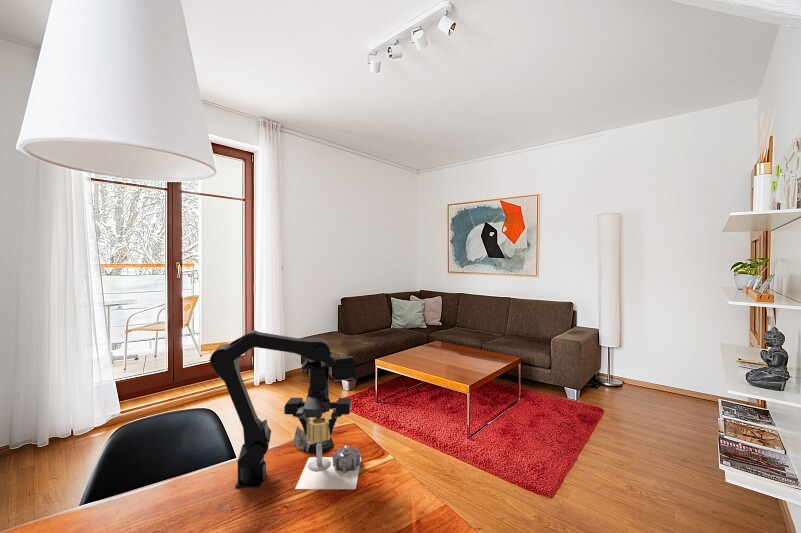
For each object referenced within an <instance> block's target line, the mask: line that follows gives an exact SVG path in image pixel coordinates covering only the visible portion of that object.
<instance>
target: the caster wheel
mask: <svg viewBox="0 0 801 533" xmlns="http://www.w3.org/2000/svg"><path fill="white" fill-rule="evenodd" d="M319 443H320V442H314V443H311V441H310V440H307V435H306V434H305V432H304V429H303V428H302V429H301V428H300V426H299V425H297V426H296V428H295V433H294V437H293V440H292V444H293V445H294V447H297V448H298V449H299V450H301V451H302V452H304V451H305V452H307V453H313V454H316V445H317V444H319ZM321 444H322V453H325V452H327V451H329V450H331V449H332V448H333V446H334V441H333V439H332V437H330V439H329V440H325V441H323V442H322V443H321Z"/></svg>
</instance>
